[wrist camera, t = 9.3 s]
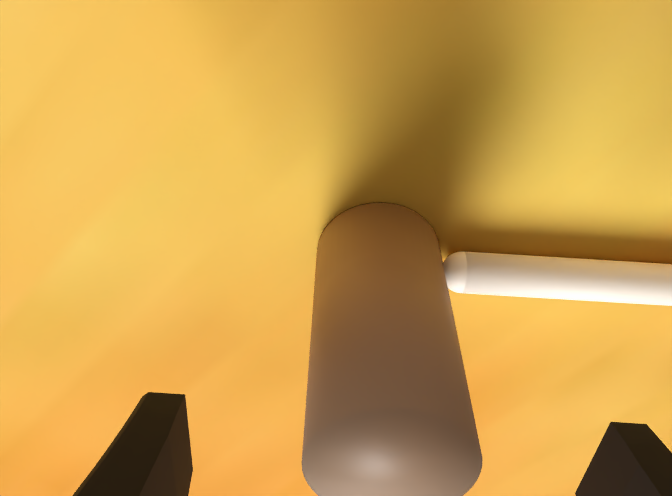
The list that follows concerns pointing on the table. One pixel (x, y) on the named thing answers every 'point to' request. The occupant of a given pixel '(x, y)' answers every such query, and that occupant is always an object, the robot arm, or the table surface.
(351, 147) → the table surface
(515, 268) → the tethered block
